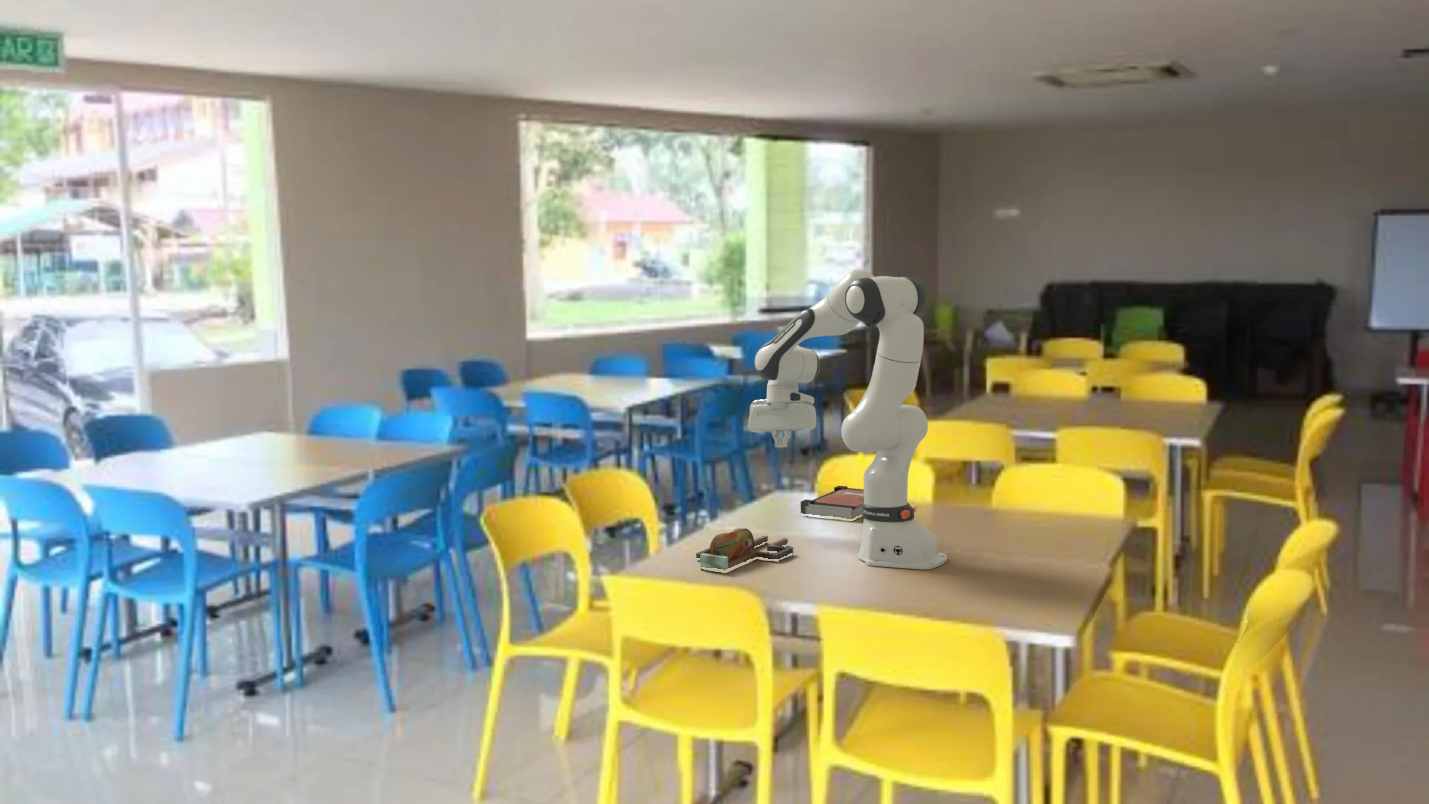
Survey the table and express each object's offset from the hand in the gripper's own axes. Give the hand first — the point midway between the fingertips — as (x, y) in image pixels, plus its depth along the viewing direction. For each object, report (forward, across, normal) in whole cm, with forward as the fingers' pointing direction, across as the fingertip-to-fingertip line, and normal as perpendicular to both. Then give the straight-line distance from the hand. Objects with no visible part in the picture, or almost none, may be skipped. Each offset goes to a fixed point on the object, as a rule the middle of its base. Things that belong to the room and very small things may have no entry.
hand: (781, 447), depth 331 cm
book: (+15, +1, +39) cm, 42 cm away
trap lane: (+31, +2, -20) cm, 37 cm away
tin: (+33, +1, -26) cm, 42 cm away
